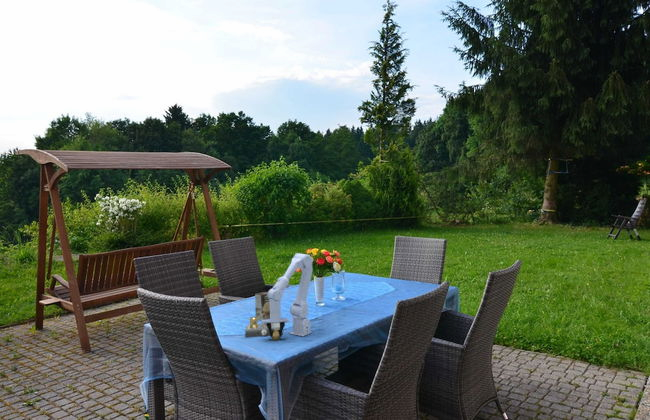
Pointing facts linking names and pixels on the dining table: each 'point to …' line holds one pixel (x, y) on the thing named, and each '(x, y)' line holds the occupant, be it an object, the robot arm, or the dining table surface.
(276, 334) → the cylinder
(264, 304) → the coffee box
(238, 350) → the dining table surface
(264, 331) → the scale
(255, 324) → the cylinder
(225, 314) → the dining table surface
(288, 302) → the dining table surface
